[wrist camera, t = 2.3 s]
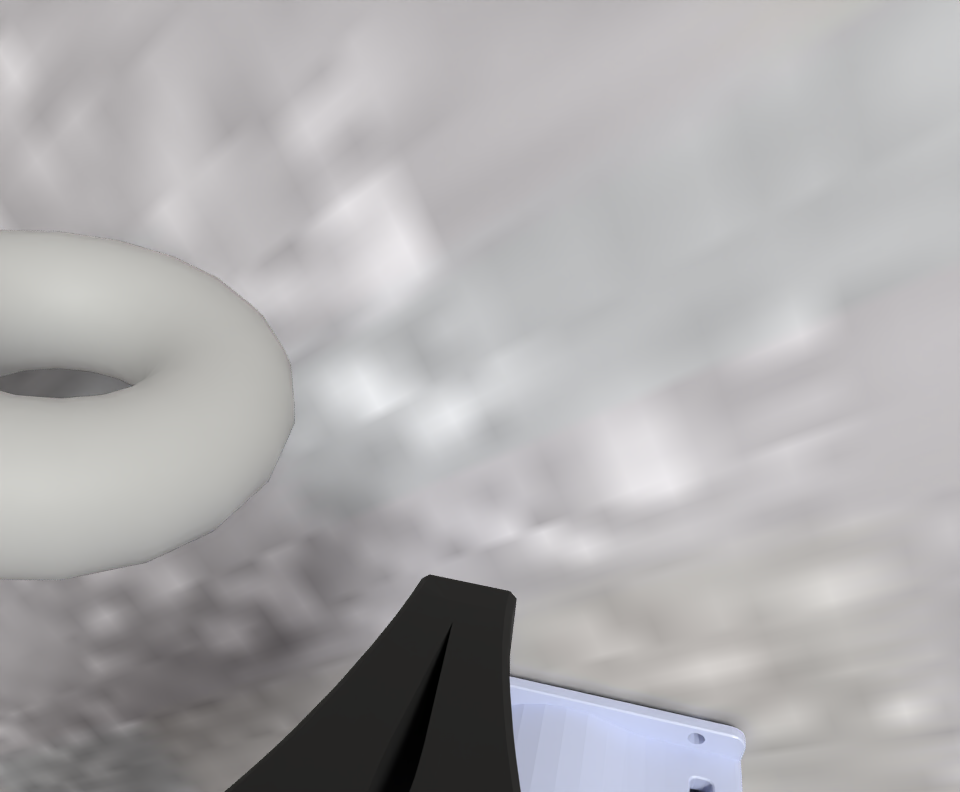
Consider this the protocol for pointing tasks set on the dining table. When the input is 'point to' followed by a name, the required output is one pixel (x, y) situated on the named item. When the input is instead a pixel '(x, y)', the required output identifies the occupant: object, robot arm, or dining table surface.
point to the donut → (128, 404)
